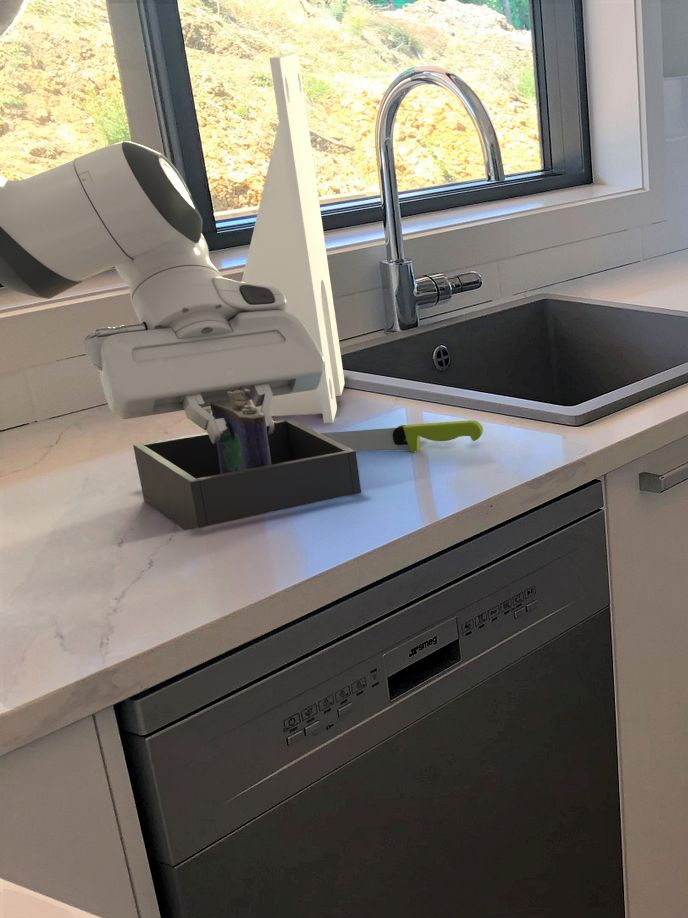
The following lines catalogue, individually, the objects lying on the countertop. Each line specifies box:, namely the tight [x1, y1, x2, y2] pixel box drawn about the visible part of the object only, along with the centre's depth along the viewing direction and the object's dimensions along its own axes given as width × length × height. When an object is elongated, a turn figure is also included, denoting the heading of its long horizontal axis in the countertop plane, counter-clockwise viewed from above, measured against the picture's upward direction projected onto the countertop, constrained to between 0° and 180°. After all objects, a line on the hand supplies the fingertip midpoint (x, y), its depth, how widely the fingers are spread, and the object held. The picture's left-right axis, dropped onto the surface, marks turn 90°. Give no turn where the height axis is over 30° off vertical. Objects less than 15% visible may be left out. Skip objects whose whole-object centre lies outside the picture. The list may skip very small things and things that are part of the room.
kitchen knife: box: [319, 419, 484, 453], centre depth 154 cm, size 22×1×3 cm, turn 90°
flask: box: [210, 389, 271, 474], centre depth 135 cm, size 9×3×11 cm, turn 44°
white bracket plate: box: [210, 52, 346, 424], centre depth 164 cm, size 20×14×40 cm
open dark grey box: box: [132, 418, 362, 531], centre depth 136 cm, size 16×16×6 cm
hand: (244, 435), depth 134 cm, fingers closed on flask, 3 cm apart
